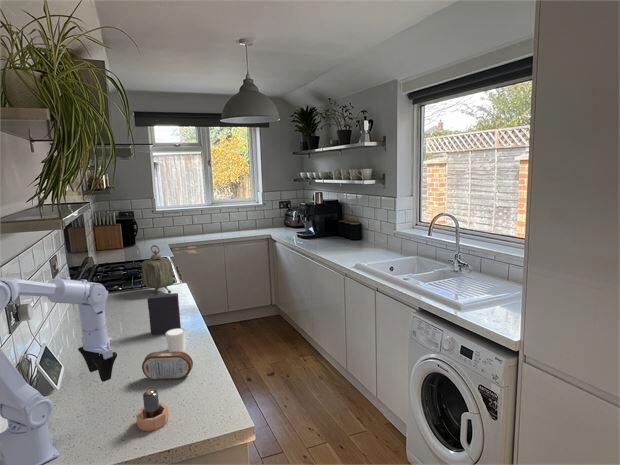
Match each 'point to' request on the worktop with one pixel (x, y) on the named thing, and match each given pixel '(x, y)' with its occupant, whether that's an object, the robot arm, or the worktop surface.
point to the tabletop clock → (157, 272)
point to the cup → (152, 419)
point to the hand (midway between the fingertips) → (100, 375)
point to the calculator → (163, 313)
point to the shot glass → (176, 339)
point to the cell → (151, 404)
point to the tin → (167, 365)
